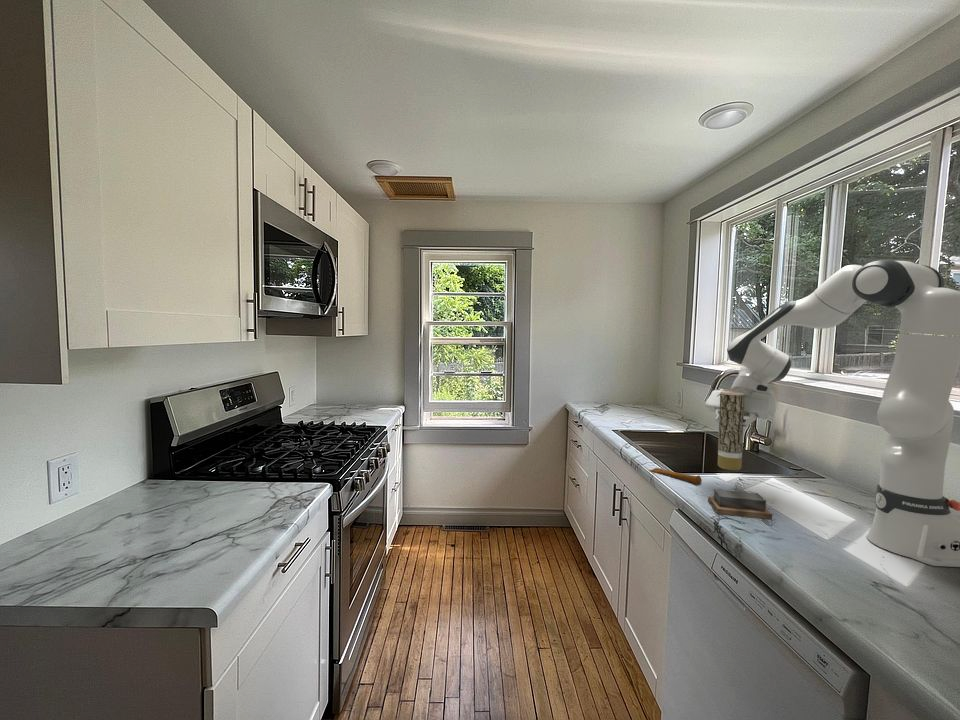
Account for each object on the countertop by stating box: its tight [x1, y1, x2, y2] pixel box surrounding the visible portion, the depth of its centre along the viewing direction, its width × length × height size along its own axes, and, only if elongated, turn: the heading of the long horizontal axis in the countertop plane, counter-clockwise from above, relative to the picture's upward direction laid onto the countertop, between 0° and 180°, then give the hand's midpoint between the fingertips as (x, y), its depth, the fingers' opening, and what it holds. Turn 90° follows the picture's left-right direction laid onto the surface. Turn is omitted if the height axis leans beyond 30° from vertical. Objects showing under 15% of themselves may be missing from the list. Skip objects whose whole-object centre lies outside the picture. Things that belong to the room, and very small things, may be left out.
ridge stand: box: [707, 489, 773, 520], centre depth 128 cm, size 14×10×4 cm
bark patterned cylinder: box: [717, 391, 745, 471], centre depth 140 cm, size 7×7×25 cm
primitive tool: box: [648, 467, 703, 486], centre depth 158 cm, size 19×6×4 cm, turn 34°
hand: (731, 423), depth 140 cm, fingers closed on bark patterned cylinder, 7 cm apart
